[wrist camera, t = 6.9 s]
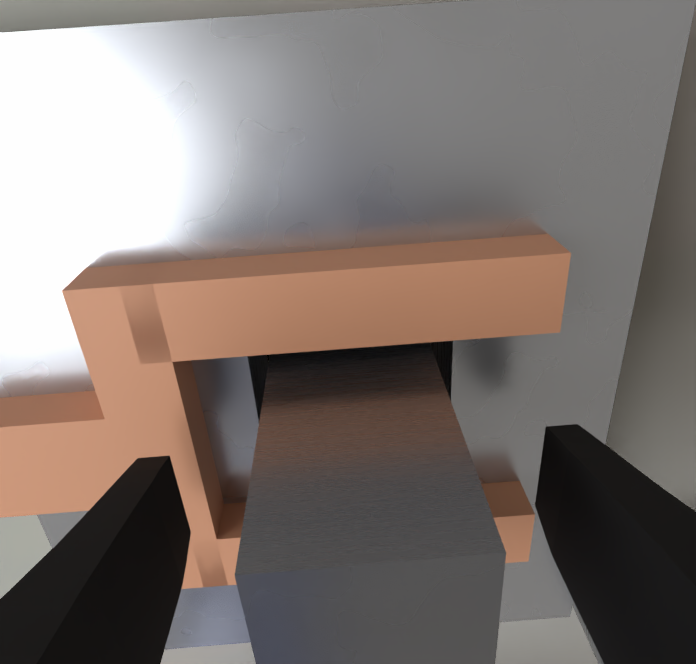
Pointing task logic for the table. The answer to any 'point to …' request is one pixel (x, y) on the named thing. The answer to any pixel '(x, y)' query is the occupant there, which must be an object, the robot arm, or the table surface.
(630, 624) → the robot arm
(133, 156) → the silver base plate
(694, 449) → the table surface
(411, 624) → the grey rectangular box
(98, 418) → the bracket
